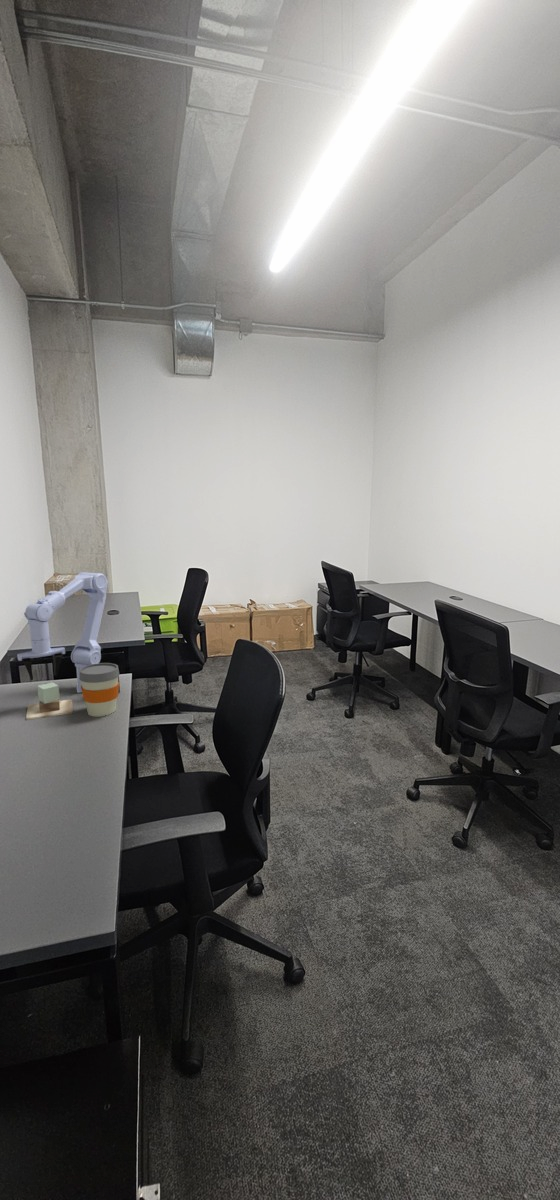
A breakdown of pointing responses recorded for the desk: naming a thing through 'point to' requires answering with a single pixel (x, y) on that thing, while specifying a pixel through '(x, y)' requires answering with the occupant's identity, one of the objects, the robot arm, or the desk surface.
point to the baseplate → (37, 714)
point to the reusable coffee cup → (100, 688)
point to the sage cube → (48, 692)
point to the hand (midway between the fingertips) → (43, 677)
